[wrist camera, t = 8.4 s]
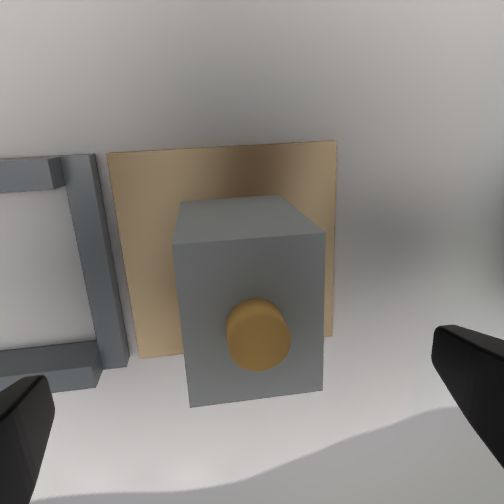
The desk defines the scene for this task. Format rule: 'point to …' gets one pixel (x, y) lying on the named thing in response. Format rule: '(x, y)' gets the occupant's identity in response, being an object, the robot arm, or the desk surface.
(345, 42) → the desk surface
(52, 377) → the grey square frame
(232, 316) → the cable plug
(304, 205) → the cork pad
